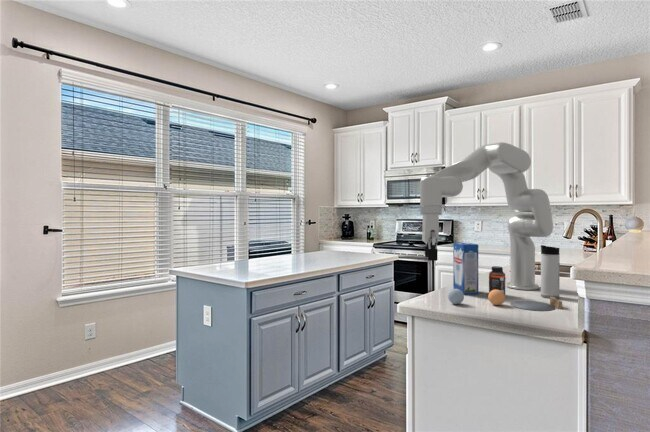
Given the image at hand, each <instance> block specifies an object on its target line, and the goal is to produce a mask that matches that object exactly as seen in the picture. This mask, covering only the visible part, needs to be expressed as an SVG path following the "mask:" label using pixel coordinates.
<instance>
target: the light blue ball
mask: <svg viewBox="0 0 650 432" xmlns="http://www.w3.org/2000/svg"><path fill="white" fill-rule="evenodd" d="M447 294H448V295H447V298H448V300H449V302H450V303H451V304H453V305H460V304H461V303H462V302H463V301H464V299H465V295H464V294H463V292H462V291H461V290H459V289H450V291H449V292H448V293H447Z"/></svg>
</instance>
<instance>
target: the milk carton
mask: <svg viewBox="0 0 650 432" xmlns="http://www.w3.org/2000/svg"><path fill="white" fill-rule="evenodd" d="M452 250H453V251H452V253H453V258H452V259H453V260H452V261H453V265H452V266H453V268H452V269H453V271H452V272H453V273H452V275H453V281H452V282H453V284H452V285H453V287H452V288H453V289H459V290H461V291H462V292H463V294H464V296H475V295H479V244H476V243H474V242H473V243H472V242H453V244H452Z"/></svg>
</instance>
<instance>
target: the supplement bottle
mask: <svg viewBox="0 0 650 432" xmlns="http://www.w3.org/2000/svg"><path fill="white" fill-rule="evenodd" d="M492 290H500V291H502V292H503V293H504V295H505V296H506V273H505V272H504V271H503V266H494V265H493V266H491V271H490V272H489V273H488V294H489V293H490V292H491V291H492Z"/></svg>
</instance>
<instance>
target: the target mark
mask: <svg viewBox="0 0 650 432" xmlns="http://www.w3.org/2000/svg"><path fill="white" fill-rule="evenodd" d="M510 306H512V307H514V308H517V309H521V310H524V311H525V310H527V311H533V312H534V311H536V312H548V311H553V310H555V309H556V307H555V306H553V305H551V304H550V303H548V302H543V301H537V300H536V301H535V300H516V301H515V300H514V301H511V302H510Z"/></svg>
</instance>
